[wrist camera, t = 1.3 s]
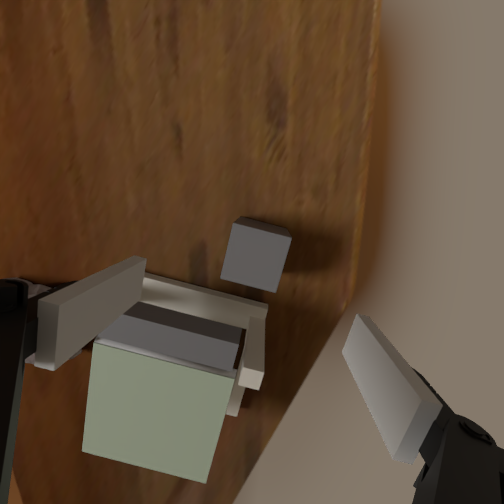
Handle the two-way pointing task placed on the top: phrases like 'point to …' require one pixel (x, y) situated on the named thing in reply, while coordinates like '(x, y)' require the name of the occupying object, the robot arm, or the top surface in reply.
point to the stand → (219, 310)
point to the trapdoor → (160, 390)
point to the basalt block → (256, 254)
